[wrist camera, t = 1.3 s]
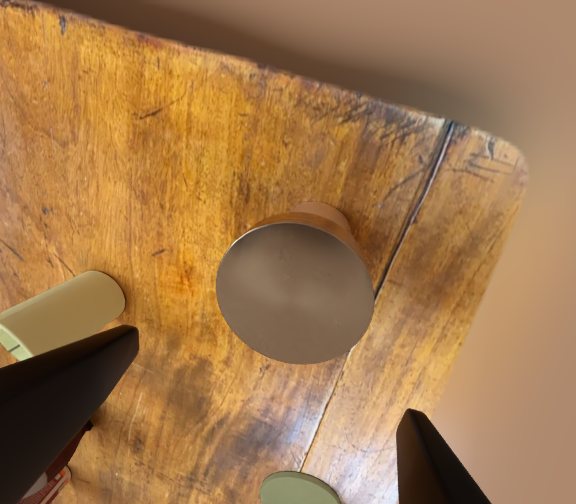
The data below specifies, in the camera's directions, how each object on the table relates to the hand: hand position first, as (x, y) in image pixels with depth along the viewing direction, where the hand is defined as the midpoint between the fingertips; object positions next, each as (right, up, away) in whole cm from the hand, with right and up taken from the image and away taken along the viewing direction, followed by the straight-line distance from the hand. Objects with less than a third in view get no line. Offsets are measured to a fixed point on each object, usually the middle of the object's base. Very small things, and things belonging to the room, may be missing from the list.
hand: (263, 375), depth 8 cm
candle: (-17, 0, +18) cm, 24 cm away
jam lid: (+1, +2, +4) cm, 5 cm away
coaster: (+2, -24, +23) cm, 33 cm away
